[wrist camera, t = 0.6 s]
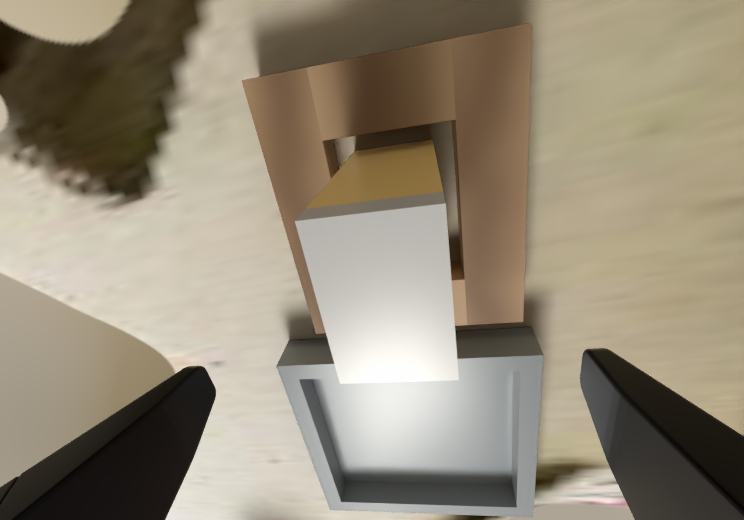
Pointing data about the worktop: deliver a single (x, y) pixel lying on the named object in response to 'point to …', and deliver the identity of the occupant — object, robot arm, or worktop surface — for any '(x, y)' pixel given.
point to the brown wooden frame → (406, 109)
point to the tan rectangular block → (384, 267)
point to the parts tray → (425, 429)
